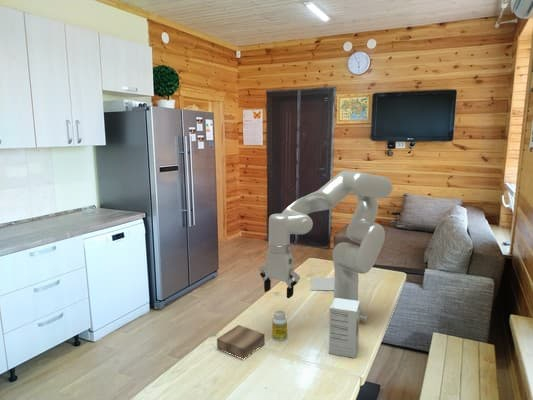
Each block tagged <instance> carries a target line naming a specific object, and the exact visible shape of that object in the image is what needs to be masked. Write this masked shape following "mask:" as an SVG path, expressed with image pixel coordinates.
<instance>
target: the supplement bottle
mask: <svg viewBox="0 0 533 400" xmlns="http://www.w3.org/2000/svg"><path fill="white" fill-rule="evenodd" d="M271 327H272V339H273V340H275V341H277V342H283V341H285V340H287V338H288V319H287V318H286V312H285V311H283V310H275V311H274V312H273V317H272V326H271Z"/></svg>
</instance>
